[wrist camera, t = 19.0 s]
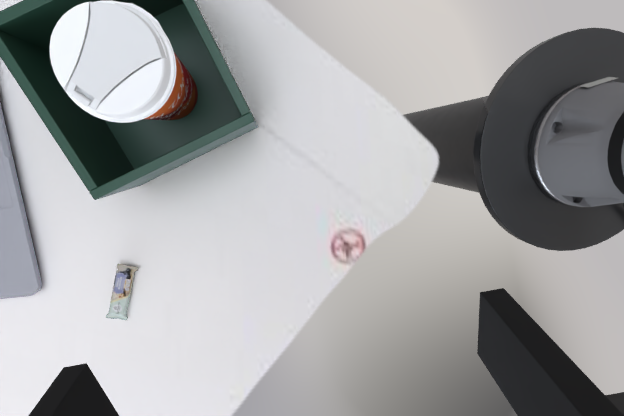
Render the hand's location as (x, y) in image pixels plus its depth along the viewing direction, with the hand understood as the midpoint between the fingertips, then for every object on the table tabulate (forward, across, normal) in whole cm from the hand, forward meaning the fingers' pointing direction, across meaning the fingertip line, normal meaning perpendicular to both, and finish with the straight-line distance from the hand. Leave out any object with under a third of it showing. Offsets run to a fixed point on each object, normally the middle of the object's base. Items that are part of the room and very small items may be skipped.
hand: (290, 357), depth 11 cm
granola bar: (+25, +22, +12) cm, 35 cm away
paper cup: (+29, +11, -8) cm, 32 cm away
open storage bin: (+30, +12, -8) cm, 33 cm away
